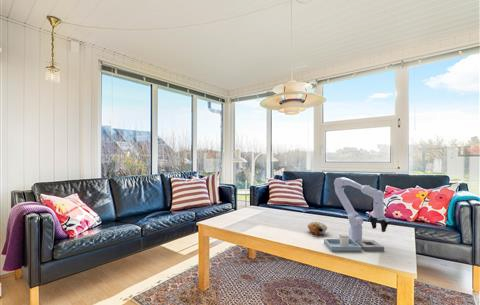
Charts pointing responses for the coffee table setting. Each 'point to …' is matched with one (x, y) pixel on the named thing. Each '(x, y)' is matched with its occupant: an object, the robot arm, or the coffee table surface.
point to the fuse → (344, 240)
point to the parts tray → (335, 246)
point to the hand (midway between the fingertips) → (378, 230)
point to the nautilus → (317, 227)
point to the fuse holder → (370, 245)
